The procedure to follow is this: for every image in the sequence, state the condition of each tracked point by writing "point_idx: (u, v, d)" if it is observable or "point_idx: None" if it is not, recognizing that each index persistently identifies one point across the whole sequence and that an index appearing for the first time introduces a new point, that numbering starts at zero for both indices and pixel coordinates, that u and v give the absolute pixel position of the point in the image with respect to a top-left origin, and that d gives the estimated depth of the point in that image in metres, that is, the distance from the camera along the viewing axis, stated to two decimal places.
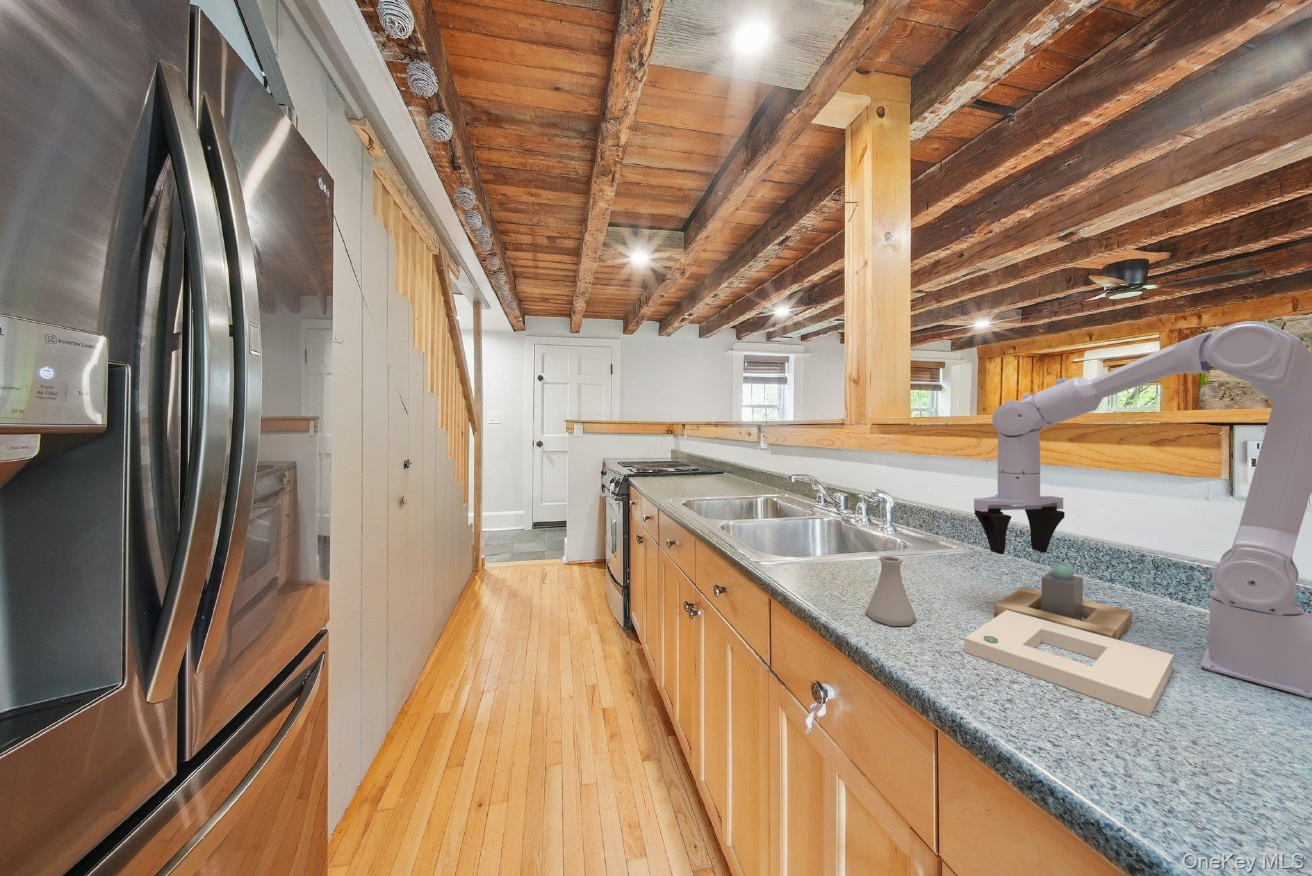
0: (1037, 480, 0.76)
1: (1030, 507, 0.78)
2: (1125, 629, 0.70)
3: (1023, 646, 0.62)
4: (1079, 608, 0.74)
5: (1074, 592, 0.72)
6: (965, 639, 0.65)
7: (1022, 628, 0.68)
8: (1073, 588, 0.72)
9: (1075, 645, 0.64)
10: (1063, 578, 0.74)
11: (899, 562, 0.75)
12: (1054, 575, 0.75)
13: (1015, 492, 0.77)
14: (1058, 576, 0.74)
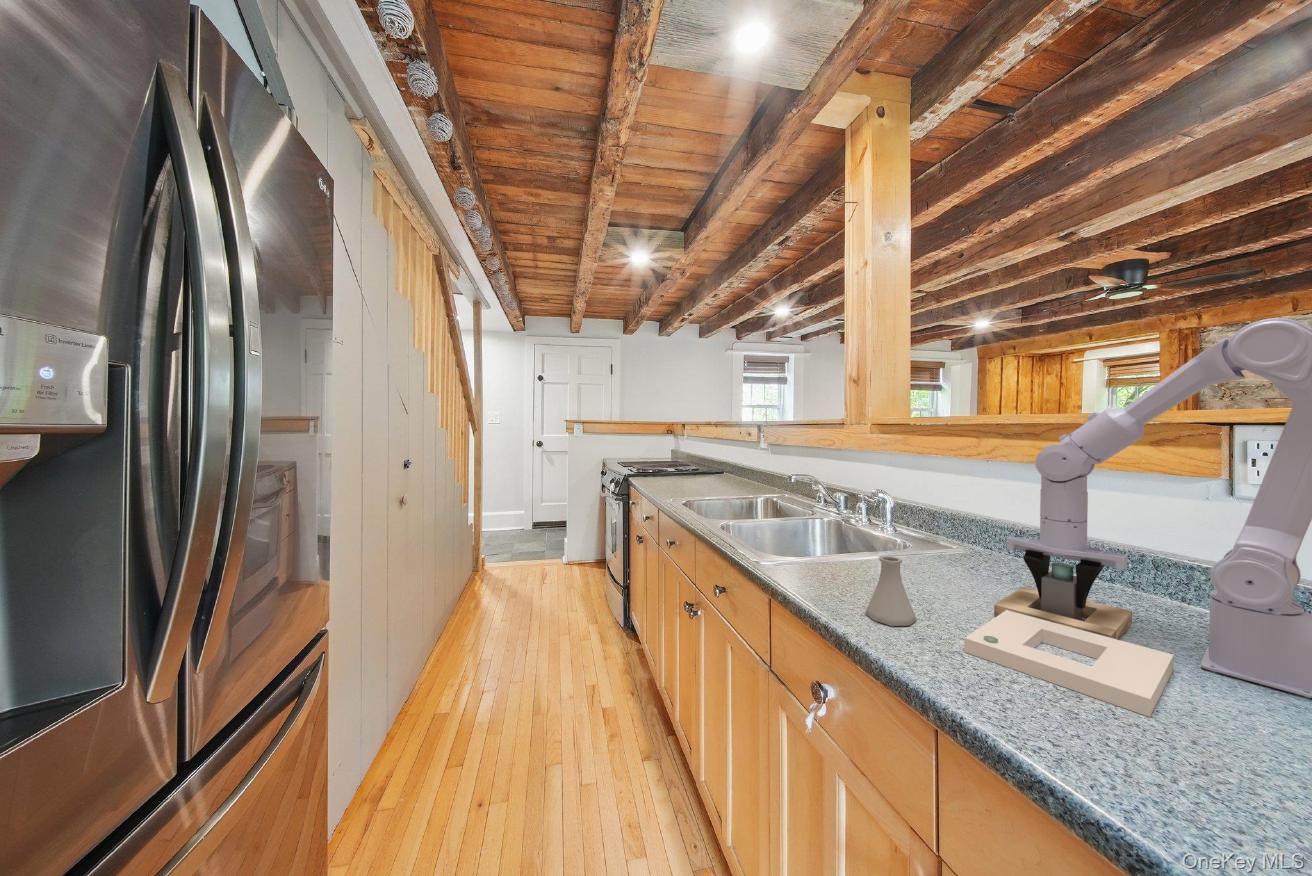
0: (1064, 528, 0.72)
1: (1077, 558, 0.73)
2: (1125, 629, 0.70)
3: (1023, 646, 0.62)
4: (1079, 608, 0.74)
5: (1074, 592, 0.72)
6: (965, 639, 0.65)
7: (1022, 628, 0.68)
8: (1073, 588, 0.72)
9: (1075, 645, 0.64)
10: (1063, 578, 0.74)
11: (899, 562, 0.75)
12: (1054, 574, 0.75)
13: (1042, 537, 0.75)
14: (1058, 576, 0.74)
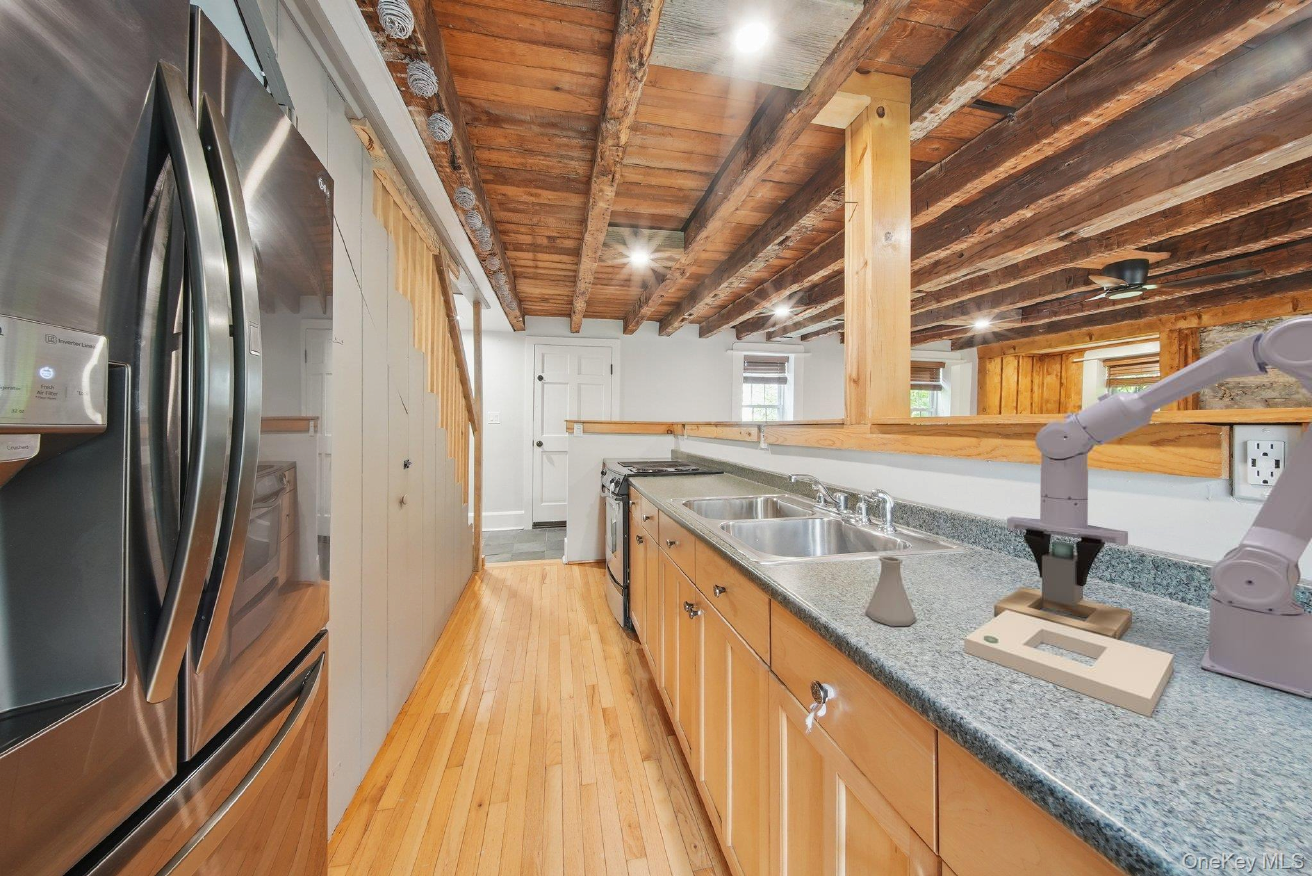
0: (1064, 506, 0.72)
1: (1078, 536, 0.73)
2: (1125, 629, 0.70)
3: (1023, 646, 0.62)
4: (1080, 586, 0.73)
5: (1075, 569, 0.72)
6: (965, 639, 0.65)
7: (1022, 628, 0.68)
8: (1074, 565, 0.72)
9: (1075, 645, 0.64)
10: (1064, 556, 0.73)
11: (899, 562, 0.75)
12: (1055, 553, 0.74)
13: (1042, 515, 0.75)
14: (1059, 554, 0.74)
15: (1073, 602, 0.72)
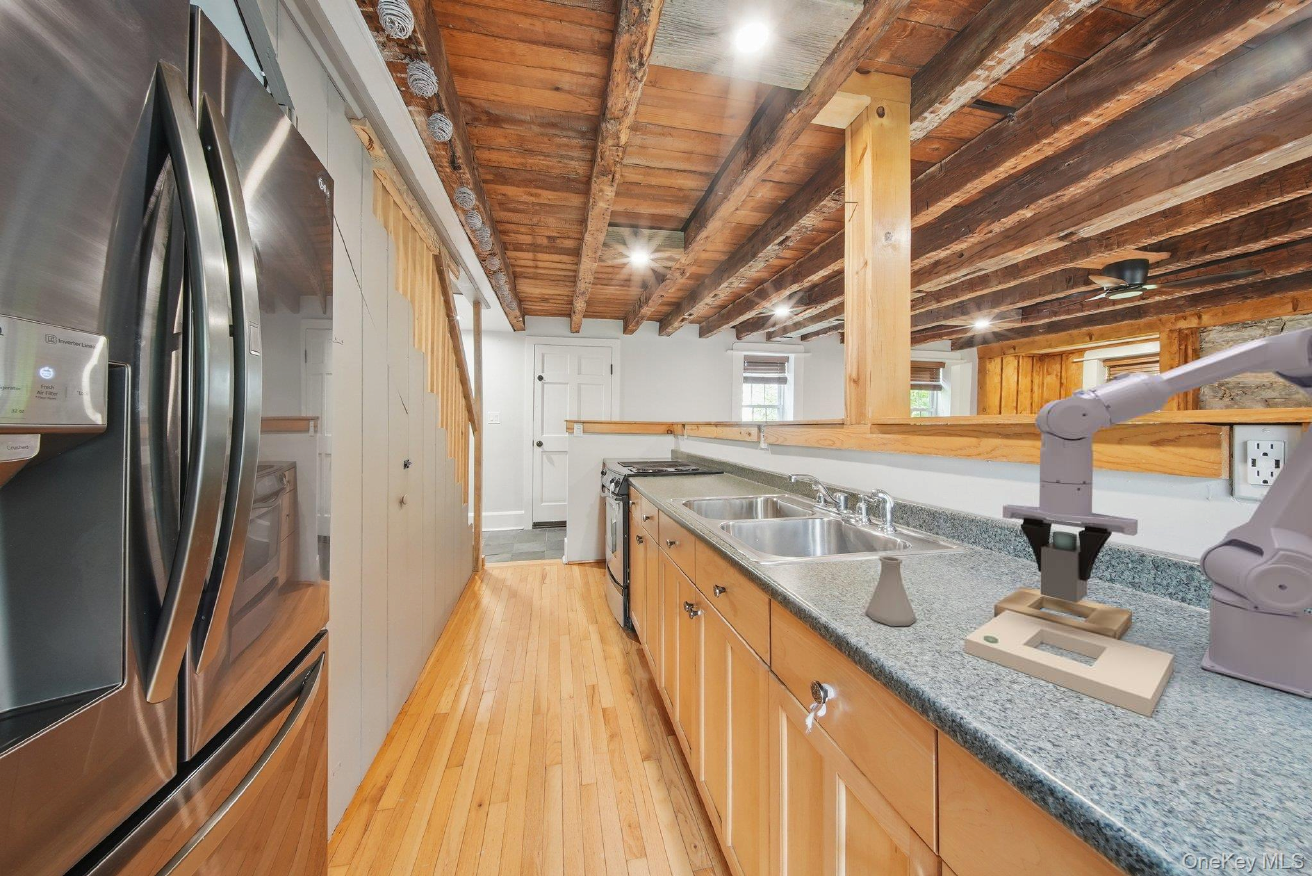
0: (1065, 491, 0.65)
1: (1081, 525, 0.65)
2: (1125, 629, 0.70)
3: (1023, 646, 0.62)
4: (1083, 581, 0.66)
5: (1077, 562, 0.64)
6: (965, 639, 0.65)
7: (1022, 628, 0.68)
8: (1076, 558, 0.64)
9: (1075, 645, 0.64)
10: (1065, 547, 0.66)
11: (899, 562, 0.75)
12: (1056, 544, 0.67)
13: (1041, 502, 0.68)
14: (1060, 545, 0.67)
15: (1075, 598, 0.64)
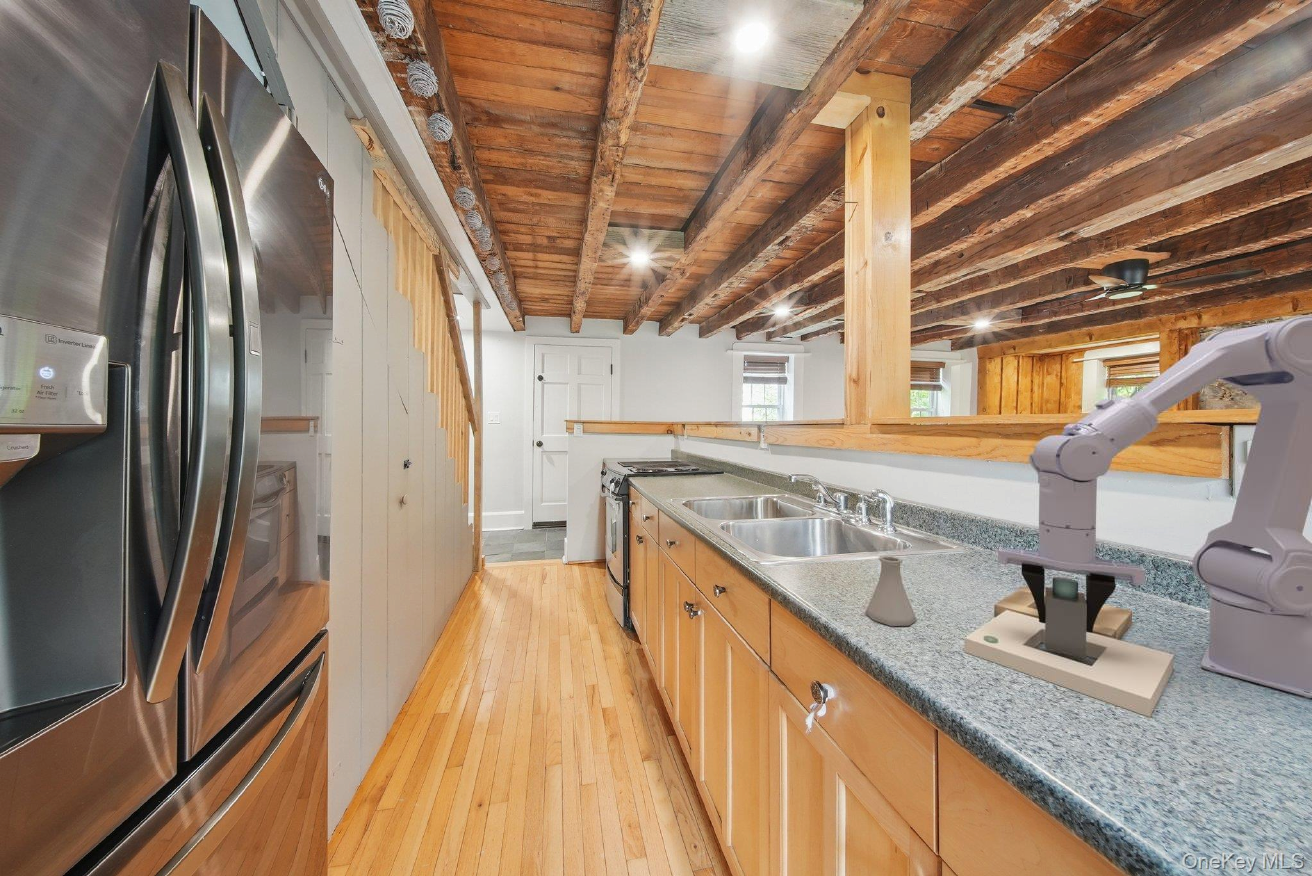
0: (1075, 537, 0.59)
1: (1085, 572, 0.60)
2: (1125, 629, 0.70)
3: (1023, 646, 0.62)
4: None
5: None
6: (965, 639, 0.65)
7: (1022, 628, 0.68)
8: (1085, 609, 0.59)
9: None
10: (1069, 596, 0.61)
11: (899, 562, 0.75)
12: (1058, 593, 0.62)
13: (1045, 548, 0.62)
14: (1063, 594, 0.61)
15: (1084, 653, 0.59)
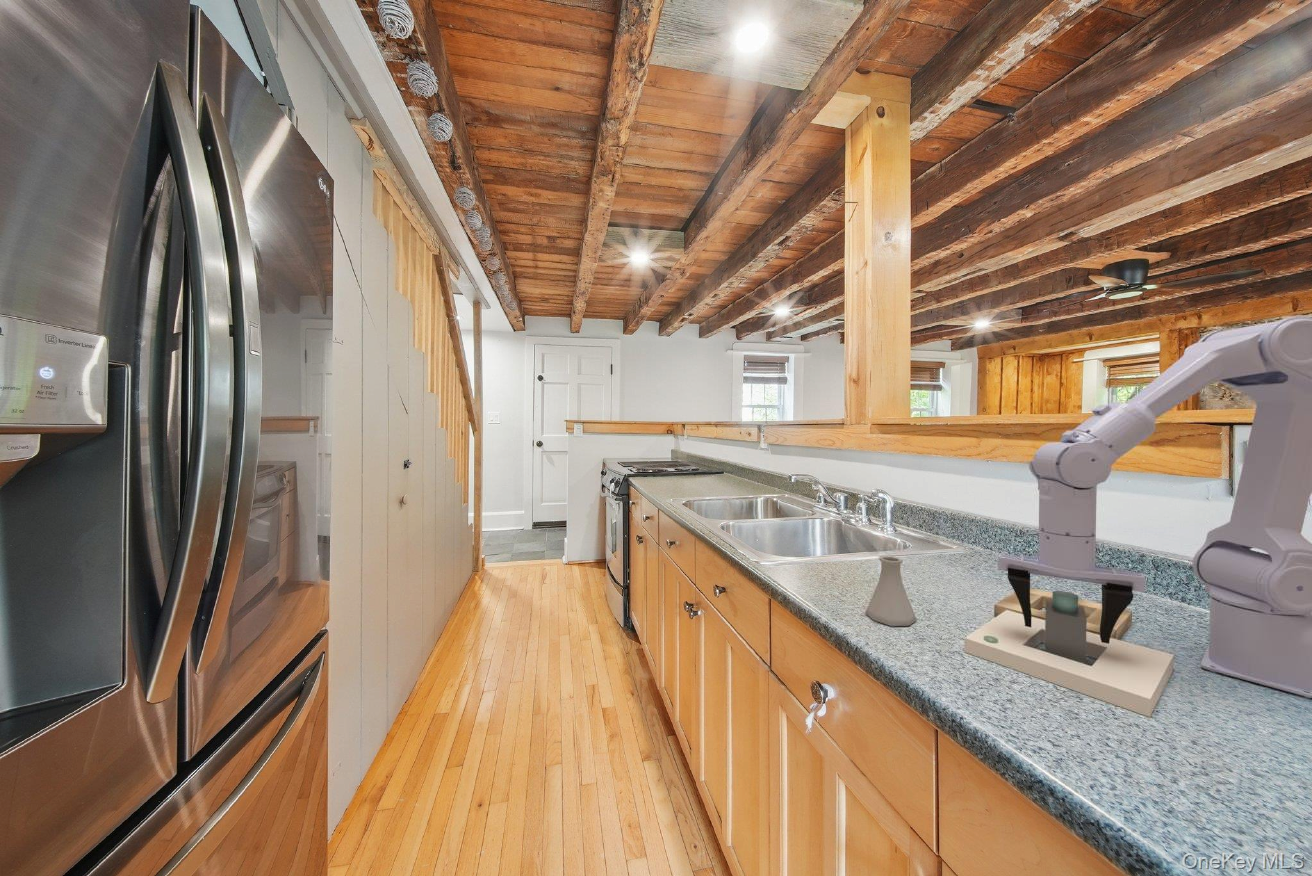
0: (1075, 544, 0.59)
1: (1084, 579, 0.60)
2: (1125, 629, 0.70)
3: (1023, 646, 0.62)
4: None
5: (1085, 628, 0.59)
6: (965, 639, 0.65)
7: (1022, 628, 0.68)
8: (1085, 624, 0.59)
9: None
10: (1069, 611, 0.61)
11: (899, 562, 0.75)
12: (1058, 607, 0.62)
13: (1045, 555, 0.62)
14: (1063, 608, 0.61)
15: None
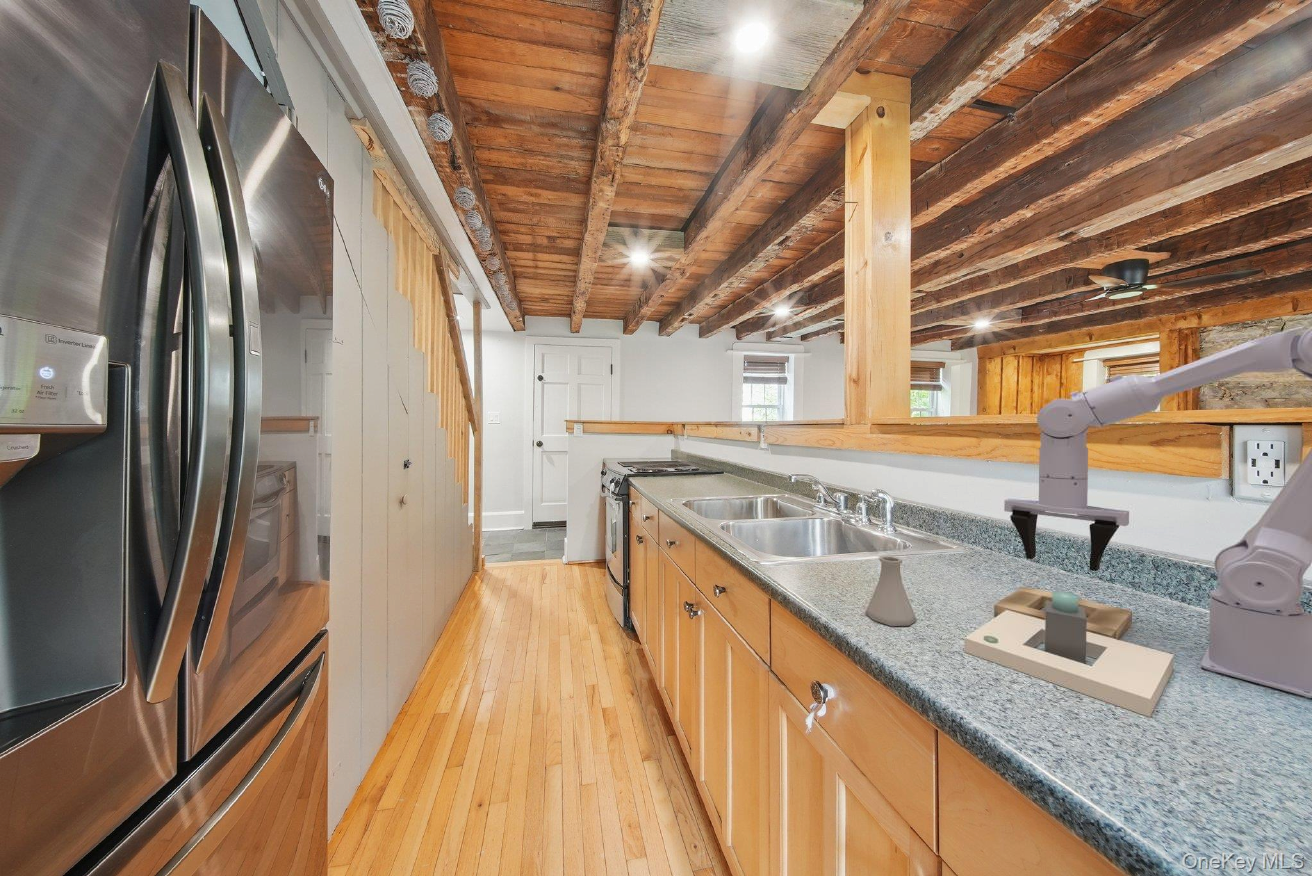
0: (1063, 485, 0.70)
1: (1077, 517, 0.71)
2: (1125, 629, 0.70)
3: (1023, 646, 0.62)
4: None
5: (1085, 628, 0.59)
6: (965, 639, 0.65)
7: (1022, 628, 0.68)
8: (1085, 624, 0.59)
9: None
10: (1069, 611, 0.61)
11: (899, 562, 0.75)
12: (1058, 607, 0.62)
13: (1041, 496, 0.73)
14: (1063, 608, 0.61)
15: None
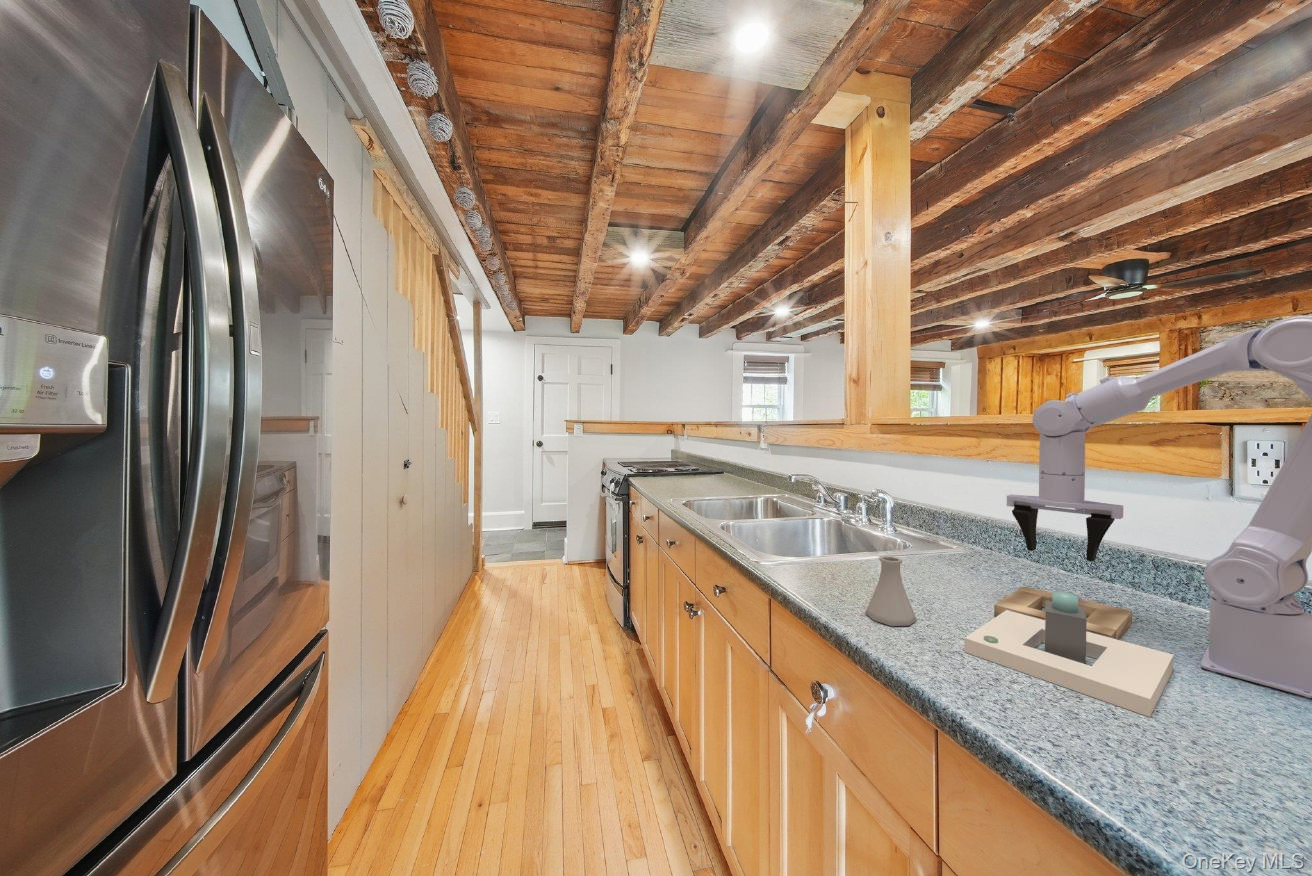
0: (1062, 481, 0.75)
1: (1075, 511, 0.75)
2: (1125, 629, 0.70)
3: (1023, 646, 0.62)
4: None
5: (1085, 628, 0.59)
6: (965, 639, 0.65)
7: (1022, 628, 0.68)
8: (1085, 624, 0.59)
9: None
10: (1069, 611, 0.61)
11: (899, 562, 0.75)
12: (1058, 607, 0.62)
13: (1041, 491, 0.77)
14: (1063, 608, 0.61)
15: None
